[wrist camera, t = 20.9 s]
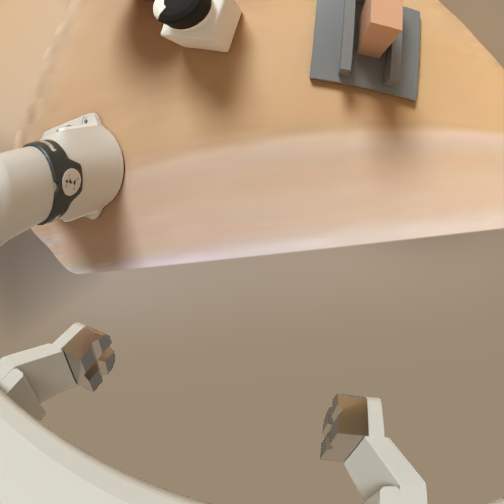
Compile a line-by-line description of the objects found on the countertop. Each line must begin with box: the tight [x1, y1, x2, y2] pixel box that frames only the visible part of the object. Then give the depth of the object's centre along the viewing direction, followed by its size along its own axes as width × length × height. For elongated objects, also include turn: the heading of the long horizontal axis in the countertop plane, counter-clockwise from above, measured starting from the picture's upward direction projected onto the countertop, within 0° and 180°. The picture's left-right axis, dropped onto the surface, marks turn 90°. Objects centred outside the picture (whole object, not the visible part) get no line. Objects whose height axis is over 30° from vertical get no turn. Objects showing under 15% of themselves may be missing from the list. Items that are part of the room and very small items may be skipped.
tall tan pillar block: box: [356, 0, 403, 59], centre depth 22 cm, size 3×5×12 cm, turn 173°
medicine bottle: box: [153, 0, 242, 52], centre depth 27 cm, size 7×7×12 cm
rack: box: [310, 0, 420, 101], centre depth 27 cm, size 14×14×5 cm
